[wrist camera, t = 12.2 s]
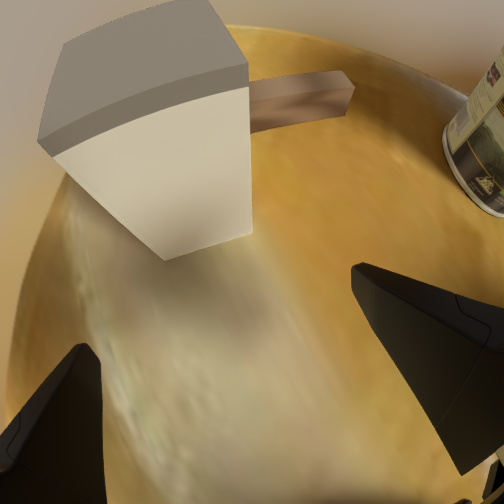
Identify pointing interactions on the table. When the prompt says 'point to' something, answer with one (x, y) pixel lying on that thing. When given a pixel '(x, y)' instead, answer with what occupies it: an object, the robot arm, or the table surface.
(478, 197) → the coffee can
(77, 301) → the table surface
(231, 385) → the table surface
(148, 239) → the carton
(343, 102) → the brown wooden bar
